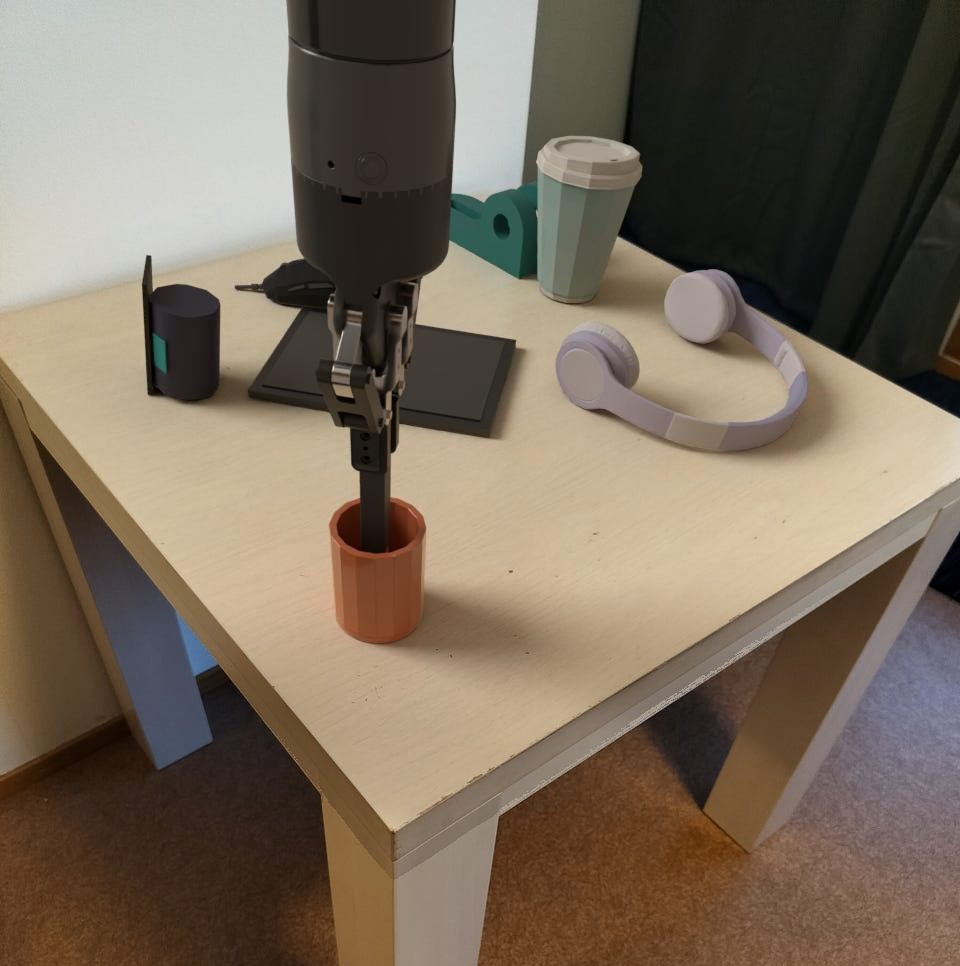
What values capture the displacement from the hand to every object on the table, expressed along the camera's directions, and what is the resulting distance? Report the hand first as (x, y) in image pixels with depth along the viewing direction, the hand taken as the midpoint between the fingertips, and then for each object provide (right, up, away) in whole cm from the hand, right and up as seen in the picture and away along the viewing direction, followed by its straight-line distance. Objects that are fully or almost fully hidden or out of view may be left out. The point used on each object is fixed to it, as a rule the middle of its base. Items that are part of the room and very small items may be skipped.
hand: (375, 458), depth 54 cm
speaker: (-20, +12, +28) cm, 36 cm away
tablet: (-2, +15, +31) cm, 34 cm away
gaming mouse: (-12, +25, +40) cm, 49 cm away
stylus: (-1, -5, +6) cm, 8 cm away
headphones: (+27, +13, +33) cm, 44 cm away
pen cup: (-1, -9, +10) cm, 13 cm away
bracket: (+7, +36, +52) cm, 63 cm away
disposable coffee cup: (+16, +28, +45) cm, 55 cm away
